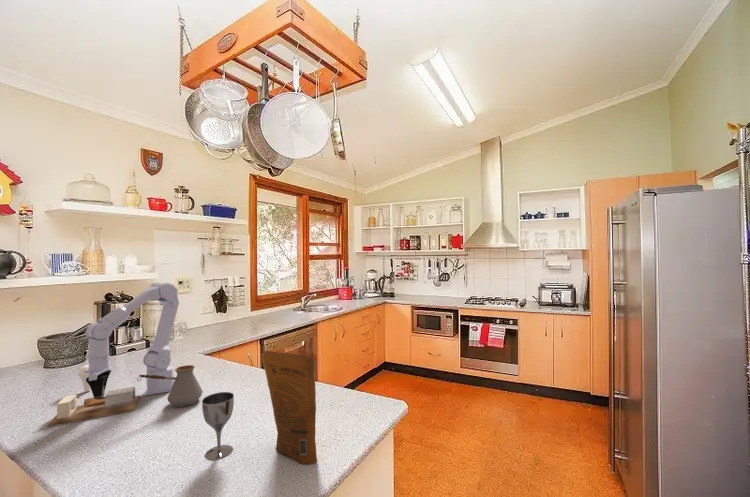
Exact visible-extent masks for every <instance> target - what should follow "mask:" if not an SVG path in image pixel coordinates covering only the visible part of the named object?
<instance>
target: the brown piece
mask: <svg viewBox="0 0 750 497" xmlns="http://www.w3.org/2000/svg"><path fill="white" fill-rule="evenodd" d="M105 391H106V388H105V385H104V386H103V392H102V395H101V396H97V397H94V396H93V397H89V398H85V399H84V400H83V405H84V408H87V407H93V406H99V405H104V404H105V395H106V394H105V393H106V392H105Z"/></svg>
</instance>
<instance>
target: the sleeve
mask: <svg viewBox="0 0 750 497" xmlns="http://www.w3.org/2000/svg"><path fill="white" fill-rule="evenodd" d="M104 396H105V409H110V408H115V407H121V406H126V405H132V404H133V403H134V401H135V396H136V386H129V387H124V388H119V389H113V390H111V389H110V390H108V391H107V393H106V394H105V395H104Z"/></svg>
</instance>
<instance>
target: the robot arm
mask: <svg viewBox="0 0 750 497" xmlns="http://www.w3.org/2000/svg"><path fill="white" fill-rule="evenodd" d="M178 291H179V289H178V288H177V287H176V286H175V285H174V284H173V283H171V282H154V283H152V284H151V285H149V286H147V287H146V288H144V290H142V291H141V292H140V293H139V294H138V295H136V296H135V297H134V298H133V299H131V300H130V301H129V302H128V303H127V304H125V305H124V306H122V307H121V306H120V307H119V306H118V307H115V308H113V307H112V309H110V312H109V313H107V314H106V315H105V316H103V317H99V318H98V319H97V322H92V323H91V324H89V325H88V326H87V328H86V331H85V330H84V335H85V336H86V337H87V338H88V344H87V345H88V348H87V350H88V353H87V354H88V359H87V360H88V361H87V362H88V364H89V369H87V370H85V371H84V373H88V374H89V377H87V378H86V382H87V383H88V384H89V385H90V387H91V390H90V391H91V393H92V396H93V398H94V397H97V396H101V395H102V392H103V386H104V385H105V389H106V388H107V382H108V380H109V377H110V375H111V373H112V369H111V366H110V340H109V339H110V338H109V337H111V336H112V333H113V331H115V329H116V328H118V327H119V326H121V325H122V324H123V323H124V322H126V321H127V320H129V318H130V315H131V313H132V312H135V311H136V310H137V309H139V308H140V307H141V306H143V305H145V304H146V303H148V302H149V301H153V300H158V302H160V304H161V305H162V310H161V314H160V316H159V317H160V318H159V321H158V323H157V324H158V326H157V329H156V333H155V336H154V339H153V343H152V345H150V347H149V348H148V350H147V352H146V354H145V355H144V356H143V360H142V362H143V364H144V366H146V375H147V374H148V375H158V376H165V377H175V375H174V374H175V370H174V366H170V364H171V362H172V359H171V352H172V351H171V348H170V345H169V344H170V341H171V340H170V339H171V336H172V332H173V328H174V324H175V321H176V317H177V313H178V309H179V304H180V302H179V297H178ZM174 381H175V380H170V379H152V378H146V390H145V392H144V395H143V396H151V395H157V394H162V393H167V392H168V393H170V391H171V388H172V386H173V384H174Z"/></svg>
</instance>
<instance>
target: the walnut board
mask: <svg viewBox="0 0 750 497" xmlns="http://www.w3.org/2000/svg"><path fill="white" fill-rule="evenodd" d="M140 400H141V394H140V395H135V401H134V403H133V404H132V405H126V406H121V407H115V408H110V409H105V404H104V405H99V406H93V407H87V408H84V404H82V405H77V409H76V410H75V411H74V412H73V413H72V414H71V415H70V417H66V418H61V419H57V414H56V415H55V416H54V417H53V418H52V419H51V420H50V421H49V422H48V426H47V427H52V426H59V425H63V424H70V423H75V422H80V421H84V420H86V421H87V420H90V419H97V418H100V417H101V418H102V417H107V416H112V415H116V414H117V415H118V414H122V413H128V412H134V410H135V409H136V407H137V405H138V403H139V402H140Z"/></svg>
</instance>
